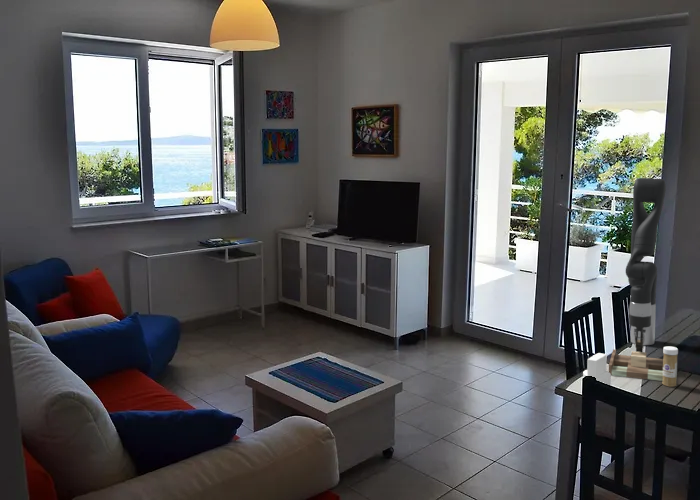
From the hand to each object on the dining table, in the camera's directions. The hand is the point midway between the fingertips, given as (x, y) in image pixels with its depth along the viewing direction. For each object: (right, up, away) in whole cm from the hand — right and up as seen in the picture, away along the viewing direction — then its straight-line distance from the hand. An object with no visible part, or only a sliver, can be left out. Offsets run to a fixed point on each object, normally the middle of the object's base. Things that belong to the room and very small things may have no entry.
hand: (639, 357), depth 238 cm
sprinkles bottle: (+1, -6, -20) cm, 21 cm away
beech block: (-2, -2, -4) cm, 5 cm away
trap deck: (-2, -4, -4) cm, 6 cm away
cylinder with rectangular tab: (-25, -8, -21) cm, 34 cm away
